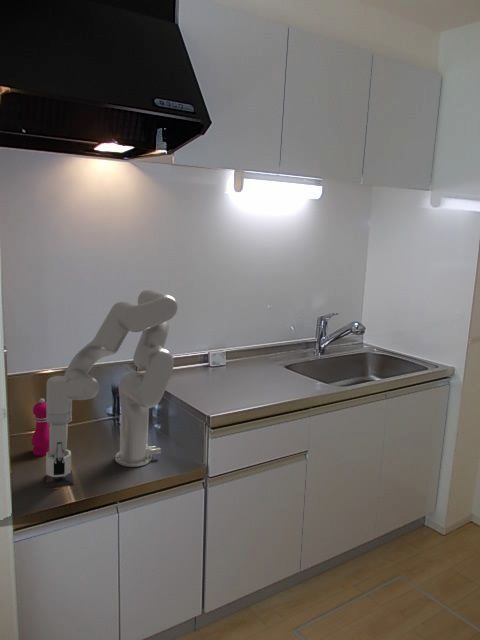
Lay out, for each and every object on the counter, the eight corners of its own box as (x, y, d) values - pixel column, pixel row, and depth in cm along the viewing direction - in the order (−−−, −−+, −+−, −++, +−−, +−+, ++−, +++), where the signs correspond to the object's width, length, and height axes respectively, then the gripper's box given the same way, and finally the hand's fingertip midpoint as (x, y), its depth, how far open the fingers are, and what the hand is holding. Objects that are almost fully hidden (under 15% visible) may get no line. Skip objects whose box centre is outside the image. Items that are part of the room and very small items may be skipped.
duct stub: (71, 472, 181) (72, 455, 180) (73, 484, 173) (73, 467, 172) (46, 475, 178) (46, 458, 177) (46, 487, 171) (46, 469, 169)
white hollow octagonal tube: (70, 464, 180) (70, 447, 178) (71, 475, 173) (71, 457, 172) (46, 467, 177) (46, 449, 176) (46, 477, 170) (46, 459, 169)
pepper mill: (57, 449, 196) (57, 396, 192) (44, 458, 189) (44, 403, 185) (40, 446, 198) (39, 393, 194) (27, 454, 191) (26, 400, 187)
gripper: (46, 406, 178) (45, 457, 181) (46, 427, 162) (46, 482, 165) (70, 405, 181) (69, 455, 184) (73, 425, 165) (72, 480, 168)
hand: (58, 467), depth 175 cm, fingers closed on white hollow octagonal tube, 7 cm apart
